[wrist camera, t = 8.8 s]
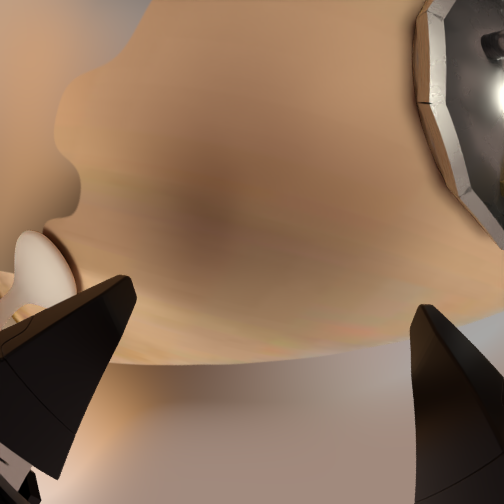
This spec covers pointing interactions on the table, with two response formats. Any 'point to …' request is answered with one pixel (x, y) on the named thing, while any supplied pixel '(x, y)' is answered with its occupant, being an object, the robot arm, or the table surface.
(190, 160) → the table surface
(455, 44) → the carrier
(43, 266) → the flower in vase
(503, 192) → the planet gear
